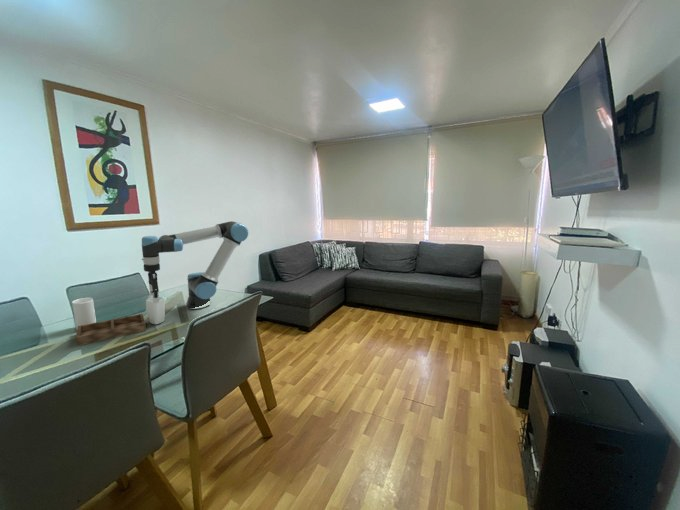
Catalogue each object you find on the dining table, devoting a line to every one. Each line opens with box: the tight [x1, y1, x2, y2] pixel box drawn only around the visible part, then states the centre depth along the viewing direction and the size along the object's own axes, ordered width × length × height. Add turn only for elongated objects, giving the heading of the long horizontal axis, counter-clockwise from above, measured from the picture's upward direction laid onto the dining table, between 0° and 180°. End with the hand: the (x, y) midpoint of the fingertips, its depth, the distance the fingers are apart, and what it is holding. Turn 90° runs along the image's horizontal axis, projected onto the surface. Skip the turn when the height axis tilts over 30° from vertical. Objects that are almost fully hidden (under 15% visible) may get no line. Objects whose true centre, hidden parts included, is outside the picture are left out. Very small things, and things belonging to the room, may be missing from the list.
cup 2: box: [145, 296, 166, 325], centre depth 157 cm, size 7×7×15 cm
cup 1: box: [71, 297, 97, 330], centre depth 147 cm, size 8×8×16 cm
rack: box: [75, 313, 147, 347], centre depth 145 cm, size 28×14×4 cm, turn 131°
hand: (154, 298), depth 155 cm, fingers open, 13 cm apart
